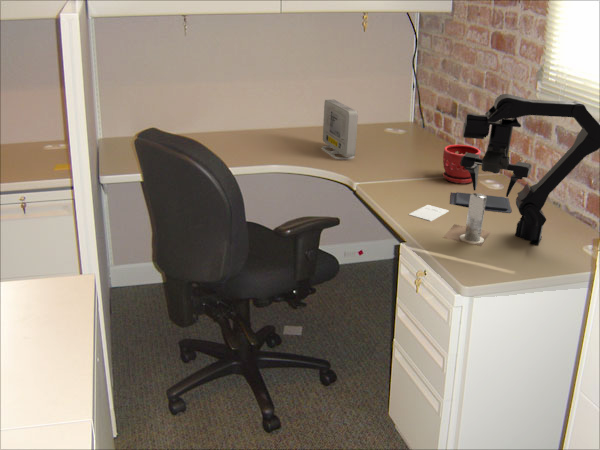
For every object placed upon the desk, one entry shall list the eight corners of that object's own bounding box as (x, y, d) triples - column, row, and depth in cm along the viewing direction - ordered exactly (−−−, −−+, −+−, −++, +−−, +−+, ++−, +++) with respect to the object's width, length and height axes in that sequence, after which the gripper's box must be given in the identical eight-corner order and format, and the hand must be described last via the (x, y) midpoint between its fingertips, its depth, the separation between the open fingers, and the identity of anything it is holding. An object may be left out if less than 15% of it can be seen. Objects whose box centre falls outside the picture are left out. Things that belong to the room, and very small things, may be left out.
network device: (359, 160, 256) (363, 111, 248) (339, 162, 253) (342, 112, 245) (335, 144, 278) (337, 98, 270) (316, 145, 275) (318, 99, 268)
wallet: (449, 203, 210) (451, 188, 224) (448, 208, 211) (450, 193, 224) (512, 210, 206) (510, 195, 219) (511, 216, 206) (509, 200, 220)
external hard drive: (407, 218, 201) (426, 208, 210) (430, 225, 196) (449, 214, 205) (407, 213, 200) (427, 203, 209) (430, 220, 195) (449, 210, 204)
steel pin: (478, 236, 185) (485, 193, 180) (481, 242, 181) (487, 199, 176) (463, 234, 186) (469, 192, 181) (465, 240, 182) (471, 197, 177)
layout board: (490, 234, 189) (490, 231, 189) (480, 248, 180) (481, 245, 179) (454, 226, 194) (454, 223, 194) (442, 240, 184) (442, 236, 184)
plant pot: (436, 174, 243) (439, 143, 238) (469, 174, 244) (473, 144, 239) (446, 185, 231) (450, 153, 226) (481, 185, 232) (486, 154, 227)
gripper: (459, 141, 175) (451, 194, 181) (529, 152, 167) (518, 208, 173) (469, 133, 184) (461, 184, 190) (536, 143, 176) (526, 196, 182)
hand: (490, 193), depth 184 cm, fingers open, 9 cm apart
